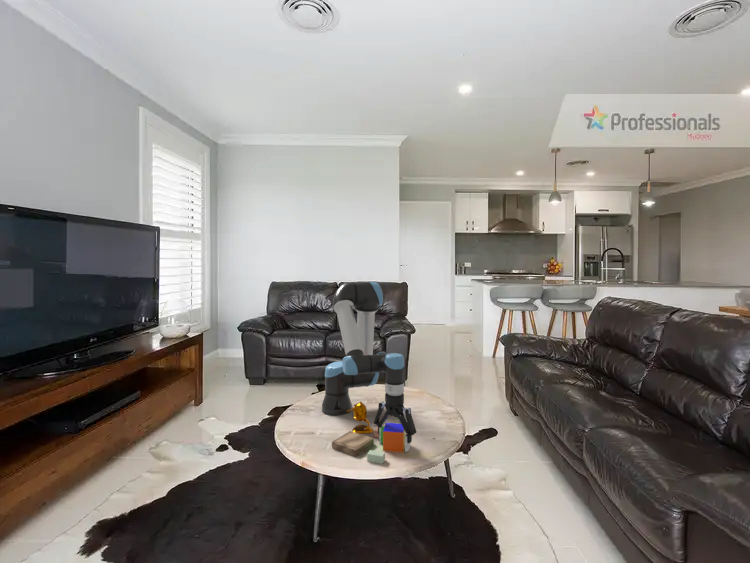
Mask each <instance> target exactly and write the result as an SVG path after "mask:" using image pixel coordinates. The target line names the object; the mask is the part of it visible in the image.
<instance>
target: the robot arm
mask: <svg viewBox="0 0 750 563" xmlns="http://www.w3.org/2000/svg"><path fill="white" fill-rule="evenodd" d="M383 295H384V294H383V290H382V287H381V285H380V284H379V283H378V282H375V281H374V282H373V281H359V282H357V281H356V282H352V281H351V282H346V283H343V284H341V285H340V286H339V287H338V288H337V290H336V291H335V293H334V294H333V298H332V308H333V311H334V312H335V313H336V316H337V320H338V324H339V331H340V333H341V334H340V335H341V339H342V344H343V348H344V354H345V356H344V357H343V358H342V360H340V361H339V360H338V361H334V362H331V363H329V364H328V365H326V367H325V372H324V382H325V383H324V385H325V386H324V392H325V394H324V398H323V401H322V405H321V412H323V413H324V414H327V415H330V416H341V415H345V414H348V413H350V412H351V411H352V410H353V409H352V408H353V403H352V401H351V397H350V395H349V394H350V393H349V389H353V388H361V387H363V388H364V387H370V386H371V387H372V386H374V385H376V384H377V383H378V379H379V376H380V373H384V378H385V381H384V384H385V385H384V386H385V388H384V391H385V394H384V401H381V402H379V403H378V408H377V411H376V414H375V417H374V419H373V420H374V421H373V424H374V425H375V426H376V427H377V426H378V434H379V437H378V442H379V444H380V445H382V444H383V430H384V426H385V425H384V423H386V420H387V419H388V418H389V417H394V418H397V420H398V421H399V422H400V424H402V426H403V428H404V430H405V446H404V452H406V453H407V452H408V451H409V450H410V449H411V443H412V440H413V439H412V436H414V435H415V434H416V433H417V429H416V427H415V426H416V425H415V423H414V420H413V417H412V409H411V407H408V408H407V407H405V406H404V403H405V394H404V393H405V357H404V355H403V354H402V353H397V352H391V353H388V352H386V351H379V352H377V353H376V354H374V337H375V335H374V334H375V320H376V319H375V317H376V313H377V312H378V311H379V307H381V306H382V305H383V303H384V302H383V301H384V296H383ZM353 309H354V310H355V311H356V312H357V315H356V316H357V317H355V313H354V310H353ZM356 320H357V321H356ZM350 409H352V410H350ZM384 409H386V411H385V412H384V414H383V411H384ZM347 410H350V411H348V412H347ZM382 415H383V416H382ZM382 425H384V426H382Z"/></svg>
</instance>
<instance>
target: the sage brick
mask: <svg viewBox="0 0 750 563" xmlns="http://www.w3.org/2000/svg"><path fill="white" fill-rule="evenodd" d="M384 460H386V453H385V451H377V450H373V449H370V450H369V451H368V452H367V453H366V461H367V462H371V463H375V462H376V463H375V464H380V463H383V464H384V462H385V461H384Z"/></svg>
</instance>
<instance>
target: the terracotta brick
mask: <svg viewBox="0 0 750 563" xmlns="http://www.w3.org/2000/svg"><path fill="white" fill-rule="evenodd" d="M382 426H384V427H385V425H384V424H383V425H382ZM373 430H374V431H373V434H374V435H373V436H374V437H373V438H379V434H378V426H377V425H376V427H375V429H373Z"/></svg>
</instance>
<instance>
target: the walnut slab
mask: <svg viewBox="0 0 750 563" xmlns="http://www.w3.org/2000/svg"><path fill="white" fill-rule="evenodd" d="M374 439H375V437H371V436H368V435H366V434H358V433H355V432H352V430H350V431H348V432H346V433H345V434H343V435H341V436H339V437H338V438H336V439H335V440H333V441H331V448H332V449H334V450H336V451H339V452H342V453H345V454H347V455H350V456H353V457H357V456H359V455H360V454H362V453H363V452H366V450H367V449H369V448H371V447H372V446H374V445H375V444H374V442H375V440H374Z"/></svg>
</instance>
